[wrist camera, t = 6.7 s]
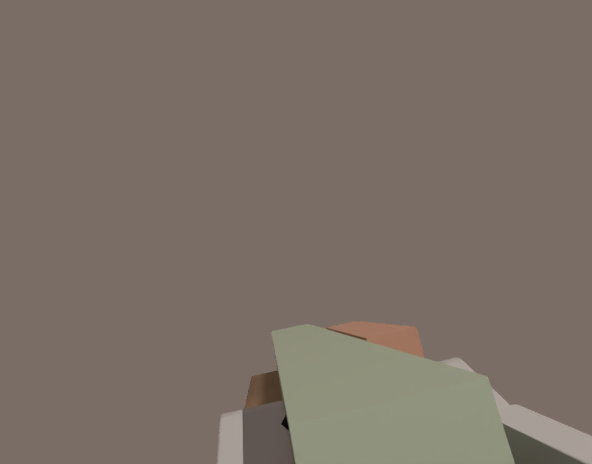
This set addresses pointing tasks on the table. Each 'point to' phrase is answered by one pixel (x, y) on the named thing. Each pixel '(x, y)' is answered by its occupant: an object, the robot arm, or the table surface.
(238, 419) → the robot arm
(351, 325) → the terracotta rod
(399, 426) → the sage rod
